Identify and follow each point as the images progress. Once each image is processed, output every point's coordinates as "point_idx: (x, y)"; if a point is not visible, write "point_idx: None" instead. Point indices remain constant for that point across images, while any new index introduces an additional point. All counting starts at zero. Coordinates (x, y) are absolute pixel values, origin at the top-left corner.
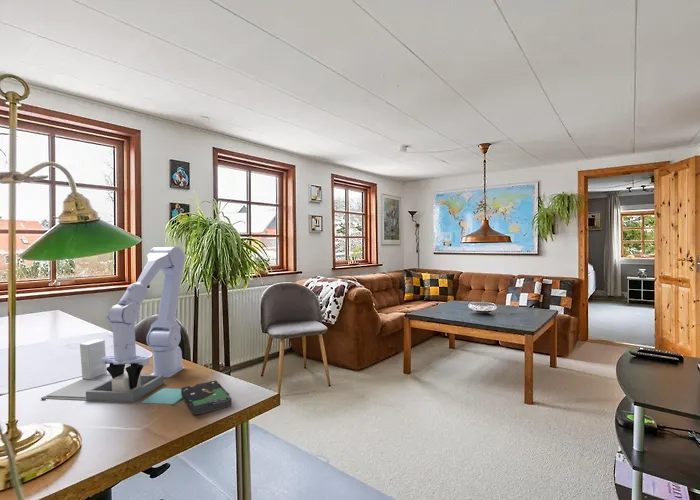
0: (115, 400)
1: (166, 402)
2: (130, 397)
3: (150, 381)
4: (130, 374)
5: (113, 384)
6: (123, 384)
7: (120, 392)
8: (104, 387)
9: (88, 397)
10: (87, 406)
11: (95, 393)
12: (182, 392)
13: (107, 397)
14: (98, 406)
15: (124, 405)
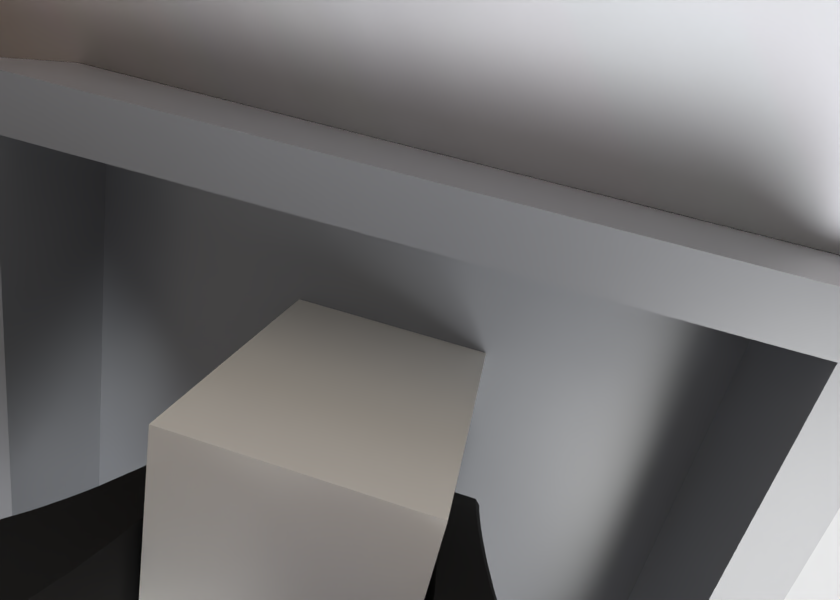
0: (321, 131)
1: None
2: (34, 63)
3: (3, 509)
4: (5, 544)
5: (426, 440)
6: (214, 378)
7: (173, 137)
8: (685, 563)
9: (830, 265)
10: (739, 58)
11: (697, 244)
12: None
13: (447, 169)
14: (542, 34)
15: (163, 23)
